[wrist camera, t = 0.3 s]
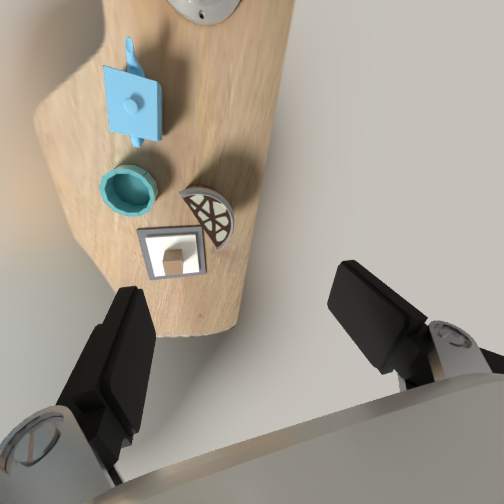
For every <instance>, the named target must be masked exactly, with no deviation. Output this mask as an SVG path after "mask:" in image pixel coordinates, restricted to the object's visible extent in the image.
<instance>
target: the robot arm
mask: <svg viewBox="0 0 504 504" xmlns="http://www.w3.org/2000/svg"><path fill="white" fill-rule="evenodd" d="M167 1H168V2H169V3H170V5H171V6H172V7H173V8H174V9H175V10H176V11H177V12H178V13H179V14H180V15H182V16H183V17H184V18H186V19H187V20H189V21H191V22H193V23H195V24H198V25H203V26H213V25H216V24H219V23H221V22H223V21H224V20H226V19H227V18H228V17H229V16H230V15H231V14H232V13H233V12H234V10H235V8H236V7H237V5H238V3H239V1H240V0H167ZM200 15H202V16H203V19H201V18H200ZM327 305H328V308H329V310H330V311H331V312H332V313H333V315H334V316H335V318H336V319H337V320H338V322H339V323H340V324H341V325H342V327H343V328H344V329H345V331H346V332H347V333H348V334H349V336H350V337H351V338H352V340H353V341H354V342H355V344H356V345H357V346H358V347H359V349H360V350H361V351H362V352H363V354H364V355H365V356H366V358H367V359H368V360H369V361H370V363H371V364H372V365H373V366H374V367H375V368H377V369H378V370H379V371H380V373H381V374H382V375H383V374H387V373H390V372H392V371H393V370H394V369H395V370H396V372H397V373H398V380H399V388H400V393H396V394H393V395H390V396H386V397H383V398H380V399H377V400H373V401H370V402H367V403H364V404H360V405H357V406H354V407H351V408H348V409H344V410H341V411H338V412H335V413H332V414H328V415H325V416H322V417H319V418H315V419H312V420H309V421H306V422H303V423H299V424H296V425H293V426H290V427H287V428H284V429H281V430H277V431H274V432H271V433H268V434H265V435H262V436H258V437H256V438H252V439H249V440H246V441H243V442H240V443H237V444H233V445H230V446H227V447H224V448H221V449H218V450H215V451H211V452H209V453H205V454H203V455H200V456H197V457H194V458H191V459H188V460H185V461H182V462H179V463H176V464H173V465H170V466H167V467H164V468H161V469H158V470H155V471H153V472H151V473H148V474H145V475H143V476H140V477H138V478H135V479H133V480H130V481H128V482H124V480H123V478H122V476H121V474H120V473H119V471H118V469H117V467H116V466H115V463H116V462H117V461H118V459H119V454H120V450H121V448H123V447H127V446H131V444H132V440H133V435H134V434H135V433H138V432H139V429H140V425H141V419H142V414H143V408H144V403H145V397H146V392H147V386H148V380H149V375H150V368H151V364H152V358H153V353H154V347H155V341H156V332H155V329H154V325H153V322H152V319H151V315H150V312H149V309H148V306H147V302H146V299H145V296H144V292H143V290H142V289H138V288H137V286H130V287H122V288H119V290H118V292H117V294H116V296H115V298H114V300H113V302H112V304H111V307H110V309H109V311H108V313H107V315H106V317H105V319H104V321H103V323H102V324H98V325H97V326H96V327H95V328H94V330H93V332H92V333H91V335H90V338H89V339H88V341H87V343H86V345H85V347H84V349H83V351H82V353H81V355H80V357H79V359H78V361H77V363H76V365H75V368H74V369H73V371H72V373H71V375H70V377H69V379H68V381H67V383H66V385H65V387H64V389H63V391H62V393H61V395H60V397H59V399H58V401H57V403H56V405H55V406H50V407H47V408H45V409H42V410H40V411H38V412H36V413H34V414H33V415H31V416H29V417H28V418H26V419H25V420H24V421H22V422H21V423H20V424H19V425H18V426H16V427H15V428H14V429H13V430H12V431H11V432H10V433H9V434H8V435H7V437H5V438H4V440H3V441H2V442H1V444H0V504H504V356H502V355H499V354H496V353H493V352H491V351H487V350H485V349H482V348H479V347H478V345H477V343H476V342H475V341H474V339H473V338H472V337H471V336H470V335H469V334H467V333H466V332H465V331H463V330H462V329H461V328H459V327H457V326H454V325H453V324H450V323H447V322H444V321H432V322H431V323H430V324H429V325H428V326H427V325H426V324H425V321H426V320H427V318H428V317H426V316H425V315H424V314H423V313H421V312H420V311H419V310H418V309H416V308H415V307H414V306H413V305H411V304H410V303H409V302H407V301H406V300H405V299H403V298H402V297H401V296H400V295H399V294H397V293H396V292H395V291H393V290H392V289H391V288H390V287H388V286H387V285H386V284H385V283H383V282H382V281H381V280H379V279H378V278H377V277H376V276H374V275H373V274H372V273H371V272H369V271H368V270H367V269H365V268H364V267H363V266H362V265H360V264H359V263H358V262H356V261H355V260H347V261H342V262H341V264H340V265H339V266H338V268H337V272H336V275H335V278H334V282H333V285H332V288H331V292H330V295H329V299H328V302H327Z"/></svg>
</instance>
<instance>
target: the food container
mask: <svg viewBox="0 0 504 504" xmlns="http://www.w3.org/2000/svg"><path fill="white" fill-rule="evenodd" d="M179 193H180V196H181V198H183V199H184V201H185V202H186V203H187V205H188V206H189V208H190V209H191V211H192V212H193V214H194V215H195V217H196V218H197V220H198V221H199V223H200V224H201V226H202V227H203V229H204V230H205V231H206V233H207V234H208V236H209V237H210V239H211V240H212V242H213V243H214V244H215V246H216V250H217V251H218V250H219V249H221V248H222V247H223V246H224V245H225V244H226V243H227V242H228V240H229V239H230V237H231V235H232V233H233V229H234V214H233V211H232V208H231V206H230V205H229V203H228V201H227V200H226V199H225V198H224V197H223V196H221V195H220V194H219V193H217V192H216V191H215V190H213V189H212V188H210V187H208V186H205V185H192V186H189V187H187V188H186V189H184V190H182V191H180V192H179Z"/></svg>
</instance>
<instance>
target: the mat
mask: <svg viewBox="0 0 504 504" xmlns="http://www.w3.org/2000/svg"><path fill="white" fill-rule="evenodd" d="M136 231H137V235H138V238H139V242H140V246H141V249H142V253H143V257H144V261H145V264H146V268H147V272H148V275H149V279H150V280H158V279H167V278H176V277H185V276H194V275H204V274H206V270H205V259H204V247H203V236H202V226H190V227H171V228H153V229H137V230H136ZM194 233H195V235H196V245H197V254H198V264H199V272H194V273H185V274H176V275H167V276H156V277H155V275H154V271H153V267H152V263H151V259H150V255H149V251H148V247H147V243H146V239H145V238H146V236H162V235H178V234H194Z"/></svg>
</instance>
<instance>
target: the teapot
mask: <svg viewBox="0 0 504 504" xmlns="http://www.w3.org/2000/svg"><path fill="white" fill-rule="evenodd" d="M125 47H126V55H127V72H125V71H121V70H118V69H115V68H111V67H108V66H105V65H103V70H104V80H105V90H106V100H107V110H108V120H109V129H110V131H111V132H115V133H120V134H125V135H129V136H131V141H132V145H133V146H135V147H138V148H139V147H141V146H142V142H144V139H148V140H153V141H157V142H158V141H160V140H162V87H161V85H160V84H159V83H158V81H155V80H151V79H148V78H145V74H144V71H143V69H142V67H141V65H140V64H139V62H138V60H137V59H136V56H135V53H134V47H133V43H132V40H131V38H130V37H127V38H126V42H125Z"/></svg>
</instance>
